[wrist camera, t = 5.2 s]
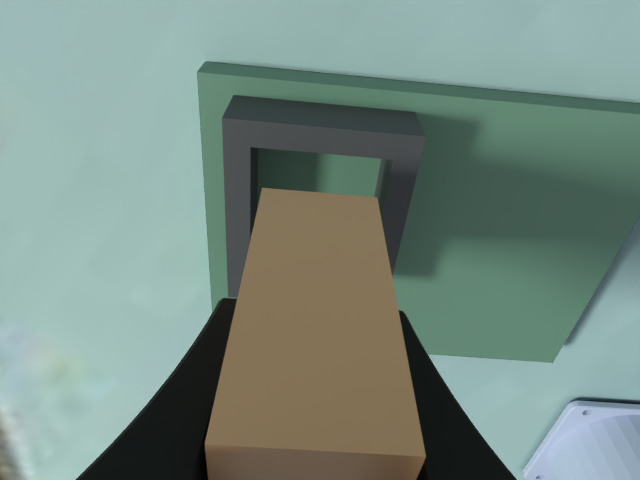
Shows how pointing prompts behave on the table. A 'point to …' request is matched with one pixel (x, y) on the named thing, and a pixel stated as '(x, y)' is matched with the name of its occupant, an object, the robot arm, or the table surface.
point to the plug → (315, 351)
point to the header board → (434, 193)
